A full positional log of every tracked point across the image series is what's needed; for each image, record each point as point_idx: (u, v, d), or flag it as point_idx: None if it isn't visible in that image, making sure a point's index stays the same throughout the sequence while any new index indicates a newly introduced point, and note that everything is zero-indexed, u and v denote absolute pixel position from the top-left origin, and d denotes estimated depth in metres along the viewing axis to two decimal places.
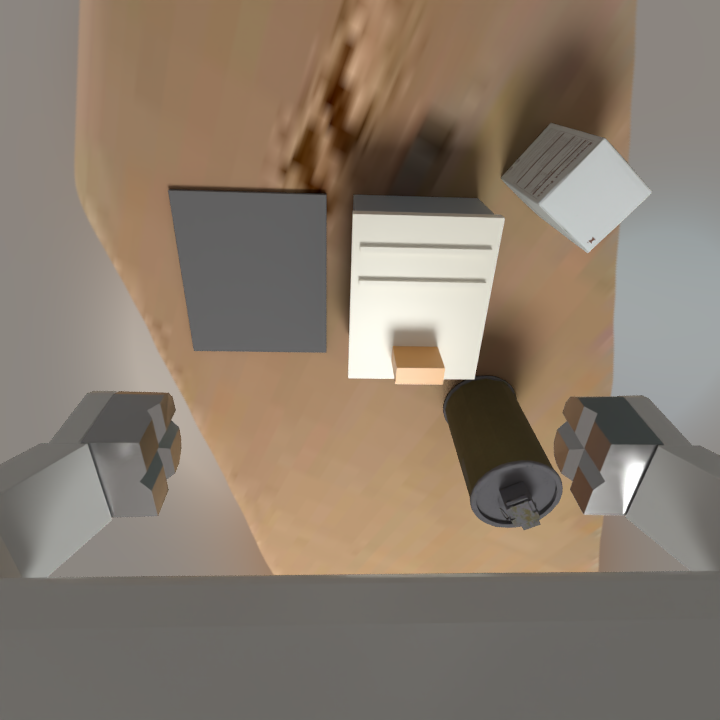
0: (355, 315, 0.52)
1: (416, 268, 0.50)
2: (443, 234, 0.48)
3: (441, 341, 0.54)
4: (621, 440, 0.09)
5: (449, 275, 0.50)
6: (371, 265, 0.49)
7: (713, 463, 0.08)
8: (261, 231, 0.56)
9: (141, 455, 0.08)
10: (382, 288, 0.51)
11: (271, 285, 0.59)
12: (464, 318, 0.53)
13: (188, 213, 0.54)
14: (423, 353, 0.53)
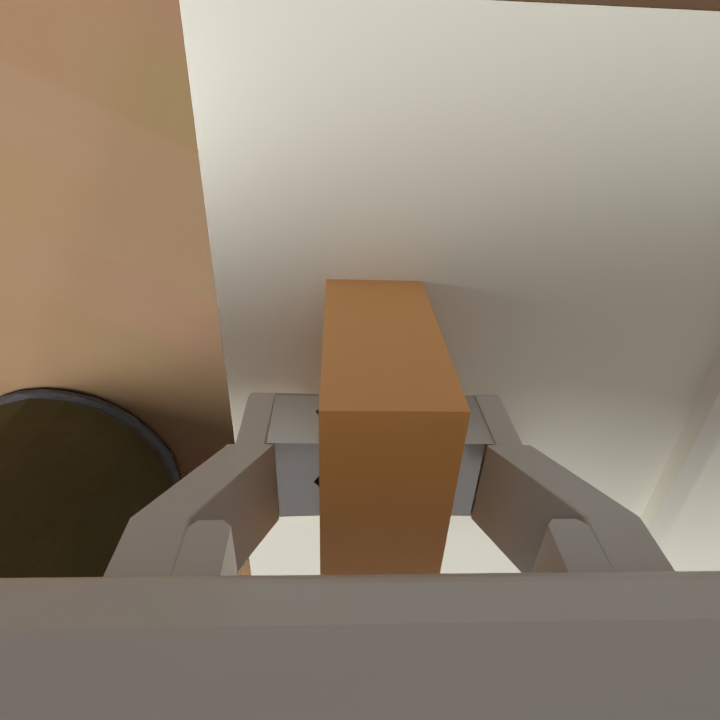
0: (661, 51, 0.08)
1: None
2: None
3: None
4: None
5: (706, 465, 0.13)
6: None
7: (534, 463, 0.08)
8: None
9: None
10: None
11: None
12: None
13: None
14: None
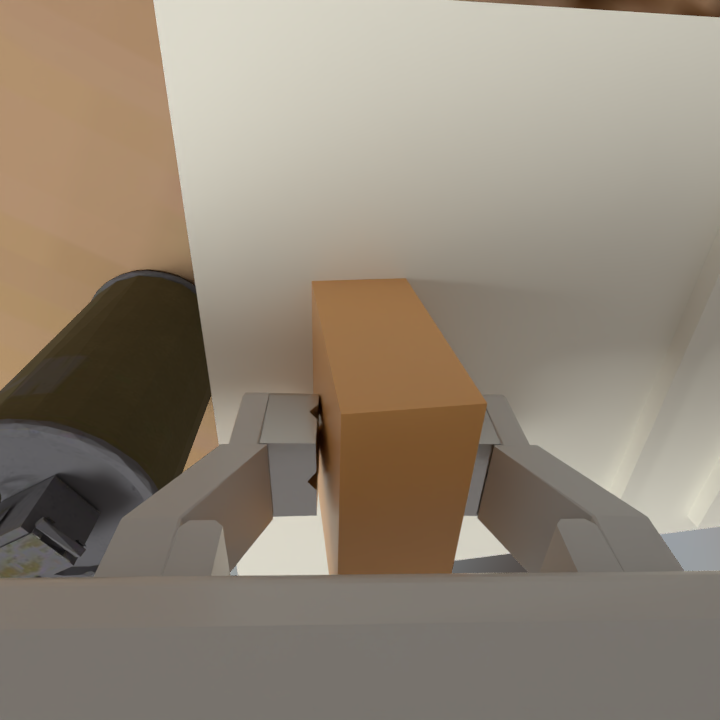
0: (623, 51, 0.09)
1: None
2: None
3: None
4: None
5: None
6: None
7: (541, 463, 0.08)
8: None
9: (314, 456, 0.08)
10: (714, 202, 0.11)
11: None
12: None
13: None
14: None
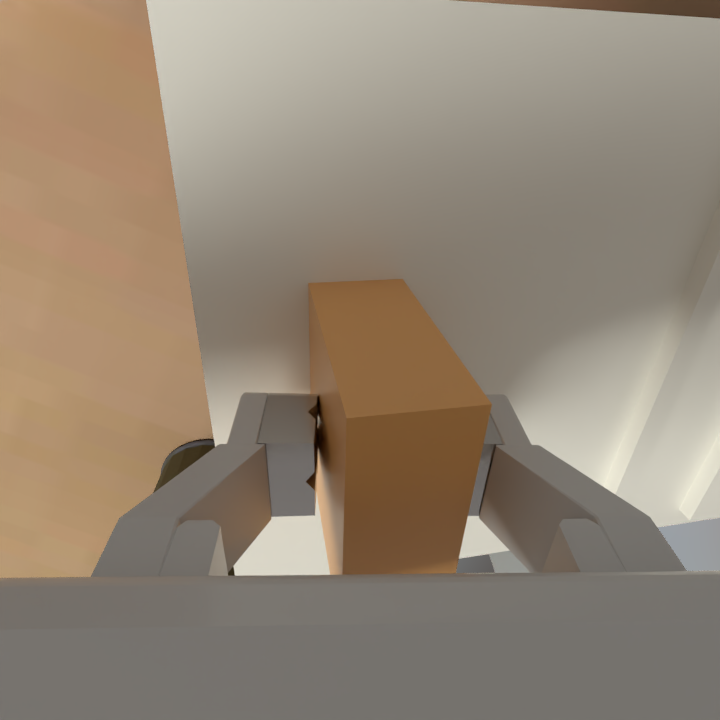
0: (616, 51, 0.09)
1: None
2: None
3: None
4: None
5: (658, 431, 0.15)
6: None
7: (543, 463, 0.08)
8: None
9: (312, 455, 0.08)
10: (704, 200, 0.11)
11: None
12: None
13: None
14: None
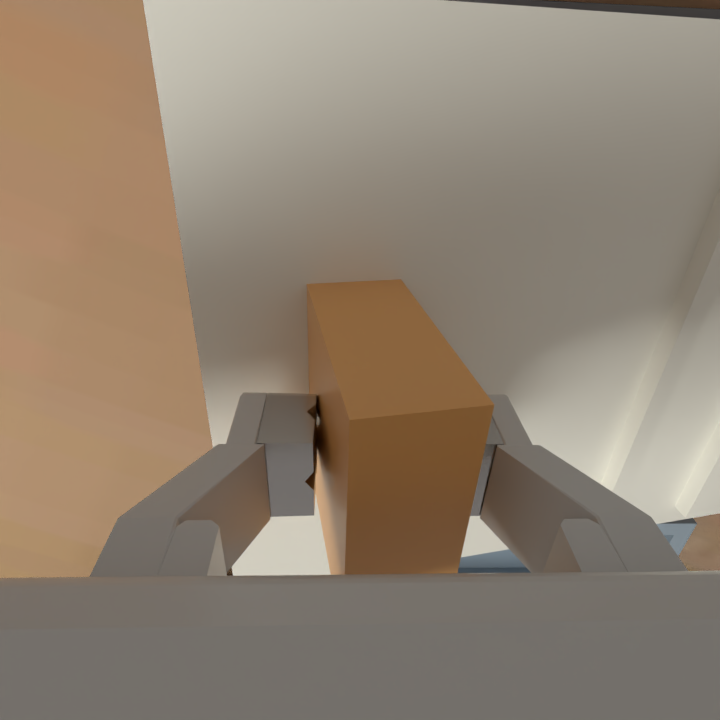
0: (612, 51, 0.09)
1: None
2: None
3: None
4: None
5: None
6: None
7: (544, 463, 0.08)
8: None
9: (311, 455, 0.08)
10: (700, 200, 0.11)
11: None
12: None
13: None
14: None
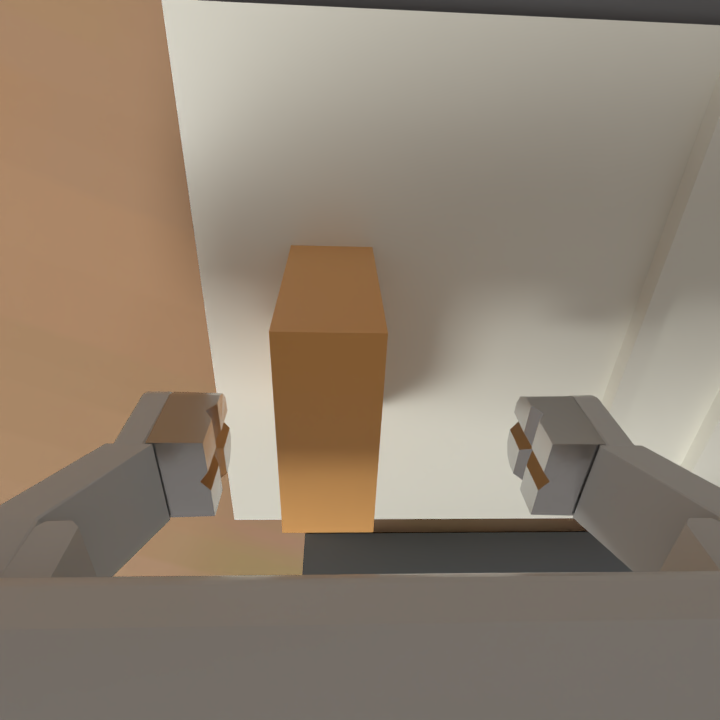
0: (559, 52, 0.10)
1: (696, 317, 0.14)
2: None
3: (385, 418, 0.15)
4: (563, 440, 0.09)
5: (632, 416, 0.15)
6: None
7: (652, 463, 0.08)
8: None
9: (203, 455, 0.08)
10: (661, 190, 0.12)
11: None
12: (467, 470, 0.16)
13: None
14: None
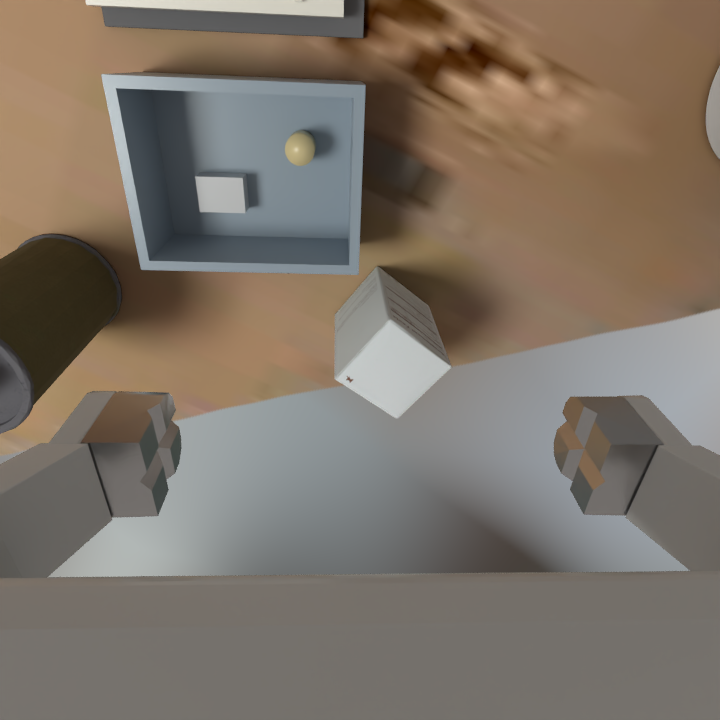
0: None
1: None
2: None
3: None
4: (621, 440, 0.09)
5: None
6: None
7: (713, 463, 0.08)
8: None
9: (141, 455, 0.08)
10: None
11: None
12: None
13: None
14: None
